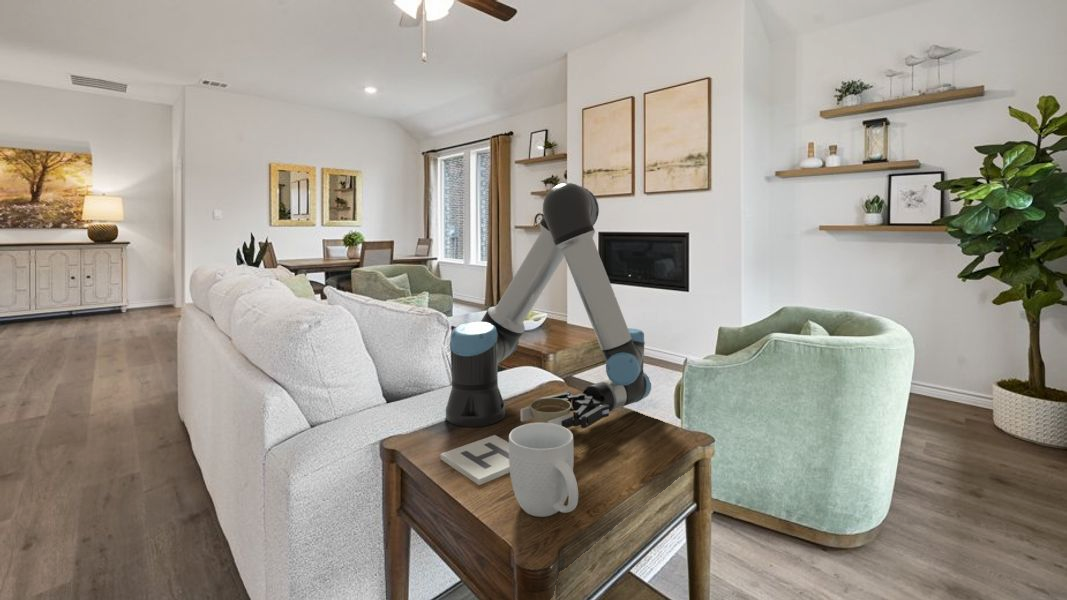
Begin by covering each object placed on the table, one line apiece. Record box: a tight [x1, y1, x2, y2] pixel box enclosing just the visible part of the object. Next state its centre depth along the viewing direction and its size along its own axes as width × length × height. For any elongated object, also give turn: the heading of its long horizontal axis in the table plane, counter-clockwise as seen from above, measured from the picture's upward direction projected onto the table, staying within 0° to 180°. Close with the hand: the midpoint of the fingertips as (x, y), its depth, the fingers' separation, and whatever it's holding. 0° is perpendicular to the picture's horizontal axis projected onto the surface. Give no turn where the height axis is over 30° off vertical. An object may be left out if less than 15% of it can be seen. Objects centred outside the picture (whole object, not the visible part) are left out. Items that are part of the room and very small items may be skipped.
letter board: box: [440, 434, 510, 486], centre depth 101 cm, size 14×14×1 cm
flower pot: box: [529, 397, 572, 423], centre depth 109 cm, size 9×9×9 cm
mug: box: [508, 422, 579, 518], centre depth 82 cm, size 15×11×13 cm
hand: (534, 421), depth 106 cm, fingers closed on flower pot, 8 cm apart
